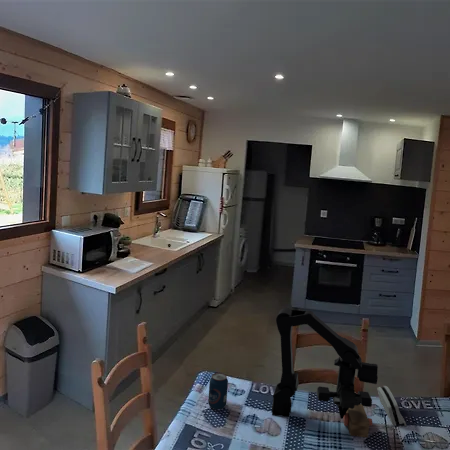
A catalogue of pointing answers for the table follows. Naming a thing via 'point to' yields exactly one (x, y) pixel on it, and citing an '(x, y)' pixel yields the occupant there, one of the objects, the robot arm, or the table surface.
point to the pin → (346, 420)
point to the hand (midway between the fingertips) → (341, 418)
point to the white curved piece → (390, 405)
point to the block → (358, 421)
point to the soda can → (218, 391)
